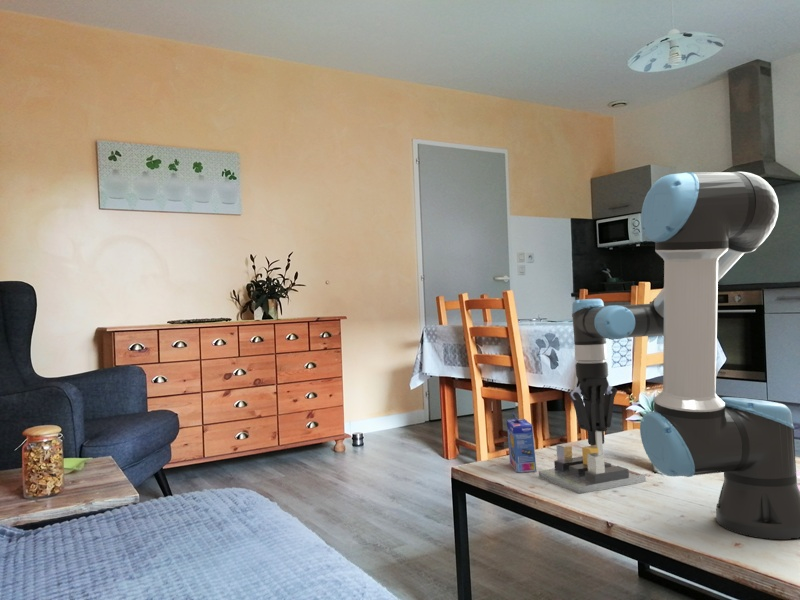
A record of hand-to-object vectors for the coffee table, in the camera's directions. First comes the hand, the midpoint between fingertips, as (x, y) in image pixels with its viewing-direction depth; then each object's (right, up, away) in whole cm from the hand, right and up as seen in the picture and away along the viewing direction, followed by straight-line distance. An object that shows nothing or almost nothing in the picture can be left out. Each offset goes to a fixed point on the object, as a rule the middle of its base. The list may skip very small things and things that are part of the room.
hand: (597, 457), depth 146 cm
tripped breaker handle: (-2, -1, -1) cm, 2 cm away
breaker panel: (-2, -5, -1) cm, 5 cm away
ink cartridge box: (-16, -6, +13) cm, 21 cm away
